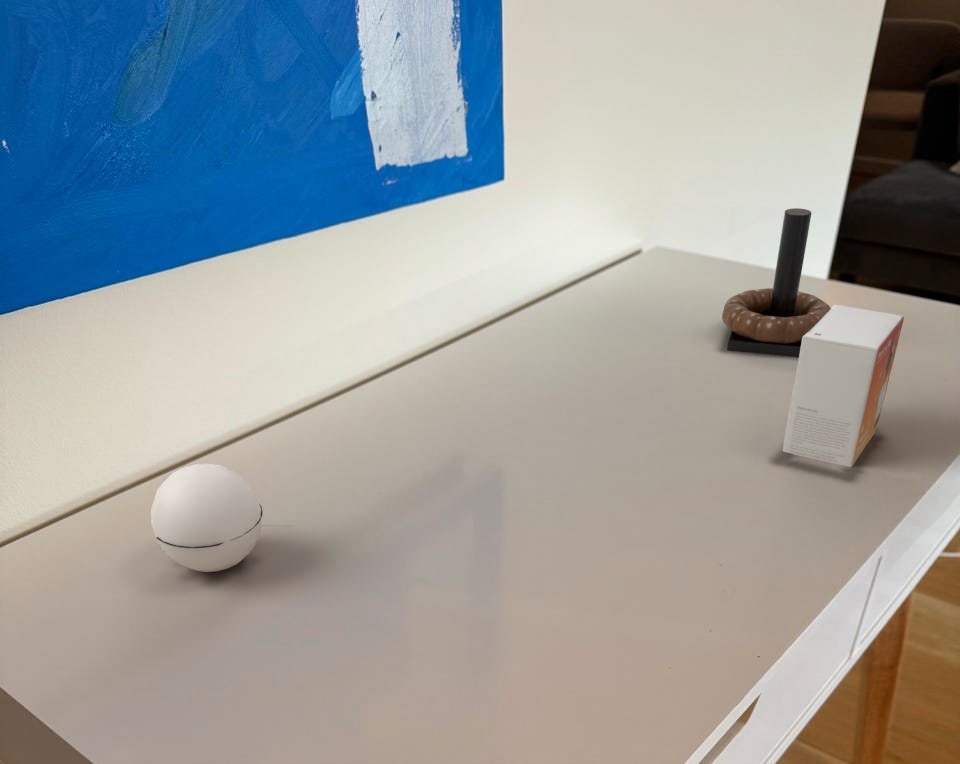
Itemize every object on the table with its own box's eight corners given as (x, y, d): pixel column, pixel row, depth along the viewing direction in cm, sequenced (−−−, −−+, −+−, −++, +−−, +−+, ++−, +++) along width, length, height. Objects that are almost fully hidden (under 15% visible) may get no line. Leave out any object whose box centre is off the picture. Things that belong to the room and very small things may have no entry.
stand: (825, 327, 103) (850, 201, 96) (821, 361, 96) (847, 228, 89) (736, 319, 105) (753, 196, 98) (726, 352, 99) (743, 222, 91)
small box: (848, 481, 78) (878, 349, 71) (778, 464, 80) (801, 335, 74) (876, 440, 83) (907, 314, 77) (809, 425, 86) (833, 302, 79)
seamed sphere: (140, 579, 69) (114, 484, 65) (207, 527, 75) (187, 436, 70) (260, 613, 66) (241, 516, 61) (321, 556, 71) (308, 463, 67)
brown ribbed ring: (829, 312, 103) (834, 289, 102) (828, 350, 95) (833, 326, 94) (726, 305, 106) (729, 282, 104) (716, 341, 98) (719, 317, 96)
